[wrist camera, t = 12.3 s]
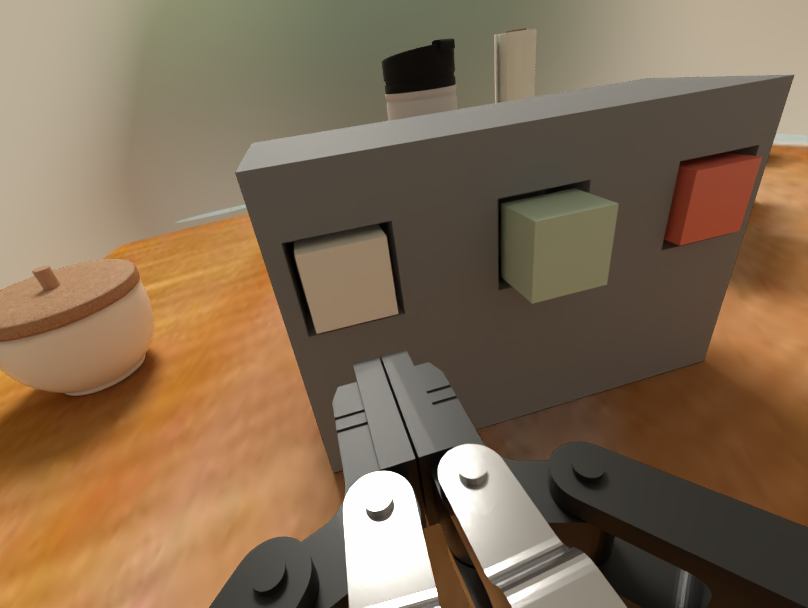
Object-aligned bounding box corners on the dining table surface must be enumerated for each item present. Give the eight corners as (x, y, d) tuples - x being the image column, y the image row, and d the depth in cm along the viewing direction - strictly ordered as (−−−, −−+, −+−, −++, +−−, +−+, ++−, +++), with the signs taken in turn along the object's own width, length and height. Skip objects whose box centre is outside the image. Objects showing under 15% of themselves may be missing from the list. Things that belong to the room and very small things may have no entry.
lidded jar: (-8, 409, 31) (-100, 304, 26) (113, 330, 39) (61, 240, 35) (94, 428, 27) (9, 311, 23) (201, 337, 36) (156, 239, 32)
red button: (679, 245, 20) (696, 171, 18) (637, 228, 22) (648, 161, 20) (739, 230, 20) (762, 156, 19) (691, 215, 23) (708, 149, 21)
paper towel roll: (523, 167, 75) (527, 29, 64) (537, 174, 69) (543, 25, 59) (486, 173, 74) (483, 35, 64) (496, 180, 69) (495, 32, 58)
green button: (531, 303, 17) (535, 221, 15) (501, 276, 19) (501, 203, 18) (606, 284, 18) (618, 203, 16) (568, 260, 20) (574, 188, 18)
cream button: (316, 333, 17) (294, 255, 15) (312, 303, 19) (293, 232, 18) (398, 313, 18) (386, 236, 16) (384, 286, 20) (373, 216, 18)
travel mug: (442, 281, 40) (422, 40, 30) (395, 267, 44) (364, 52, 34) (479, 257, 43) (472, 36, 33) (432, 246, 47) (414, 47, 37)
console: (333, 473, 22) (235, 172, 14) (321, 377, 29) (251, 143, 21) (704, 360, 26) (794, 74, 18) (611, 300, 33) (646, 78, 25)
